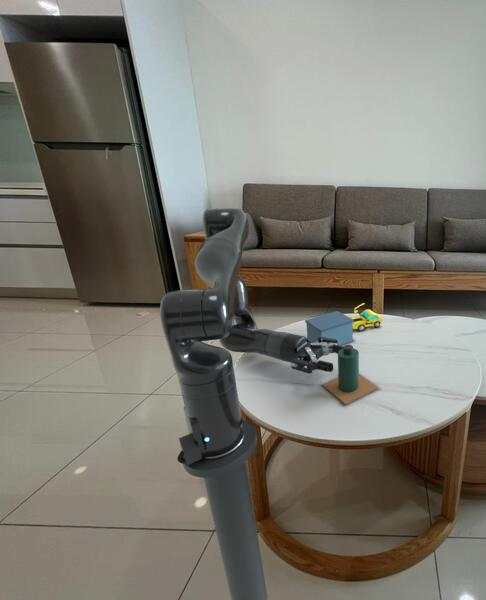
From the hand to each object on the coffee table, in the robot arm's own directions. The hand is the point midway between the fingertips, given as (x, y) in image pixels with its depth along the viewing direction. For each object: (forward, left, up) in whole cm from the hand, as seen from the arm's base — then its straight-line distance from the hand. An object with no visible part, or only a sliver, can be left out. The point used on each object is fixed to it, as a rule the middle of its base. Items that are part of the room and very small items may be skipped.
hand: (340, 359), depth 82 cm
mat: (+1, -2, -8) cm, 8 cm away
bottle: (+1, -2, -8) cm, 8 cm away
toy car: (+27, +25, -8) cm, 38 cm away
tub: (+11, +23, -8) cm, 27 cm away
